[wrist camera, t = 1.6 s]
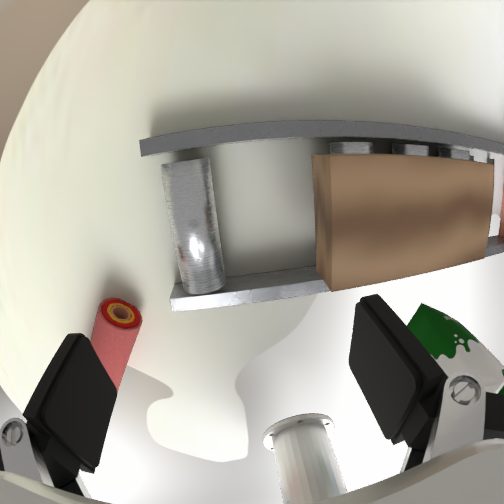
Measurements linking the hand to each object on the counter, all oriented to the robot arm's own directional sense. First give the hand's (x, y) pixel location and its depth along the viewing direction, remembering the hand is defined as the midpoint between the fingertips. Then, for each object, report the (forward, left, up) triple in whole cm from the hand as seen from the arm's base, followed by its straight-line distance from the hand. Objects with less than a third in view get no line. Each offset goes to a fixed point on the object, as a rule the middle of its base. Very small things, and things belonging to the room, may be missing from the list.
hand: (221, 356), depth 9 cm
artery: (-25, +24, -19) cm, 40 cm away
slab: (0, -17, -14) cm, 22 cm away
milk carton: (-19, -26, -19) cm, 37 cm away
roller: (0, +2, -18) cm, 18 cm away
